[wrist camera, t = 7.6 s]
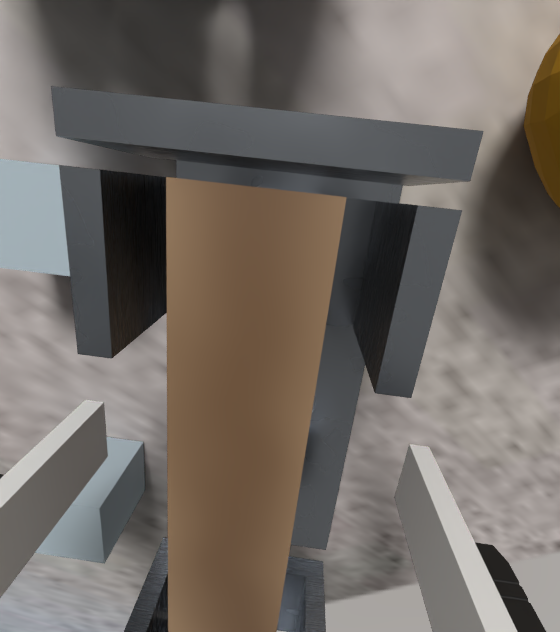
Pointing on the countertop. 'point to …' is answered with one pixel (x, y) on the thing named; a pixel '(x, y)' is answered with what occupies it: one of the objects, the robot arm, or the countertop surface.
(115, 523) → the rest block
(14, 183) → the rest block
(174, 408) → the rail
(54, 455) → the robot arm
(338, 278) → the bracket
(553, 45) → the apple
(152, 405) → the countertop surface
